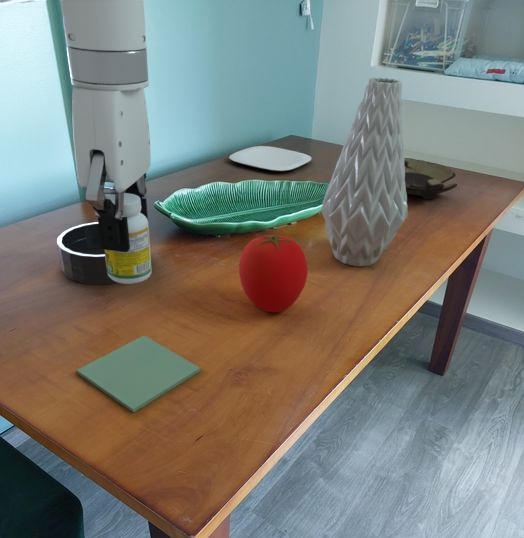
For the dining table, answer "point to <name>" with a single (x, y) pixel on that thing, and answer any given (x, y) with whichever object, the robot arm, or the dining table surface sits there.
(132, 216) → the supplement bottle
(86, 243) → the pan
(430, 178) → the oil lamp
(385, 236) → the vase
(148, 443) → the dining table surface
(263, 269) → the tomato
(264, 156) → the plate
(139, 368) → the mat
